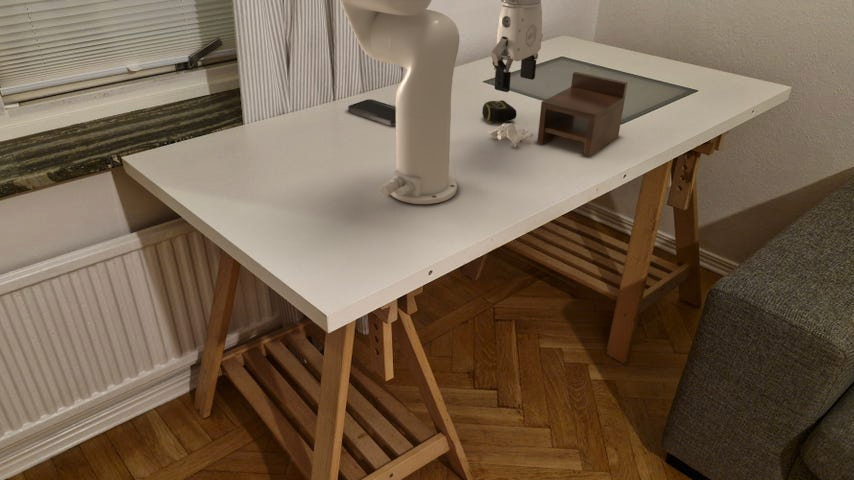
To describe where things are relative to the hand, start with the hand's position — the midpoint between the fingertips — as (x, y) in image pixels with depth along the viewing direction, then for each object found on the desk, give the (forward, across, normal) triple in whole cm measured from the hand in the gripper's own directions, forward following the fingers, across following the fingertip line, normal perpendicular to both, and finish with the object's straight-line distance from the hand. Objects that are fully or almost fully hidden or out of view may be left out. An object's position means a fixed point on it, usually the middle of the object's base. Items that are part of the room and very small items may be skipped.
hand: (514, 84), depth 141 cm
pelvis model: (+12, -1, 0) cm, 13 cm away
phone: (+12, -6, +32) cm, 35 cm away
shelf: (+12, +9, -11) cm, 19 cm away
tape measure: (+13, +9, +9) cm, 18 cm away
